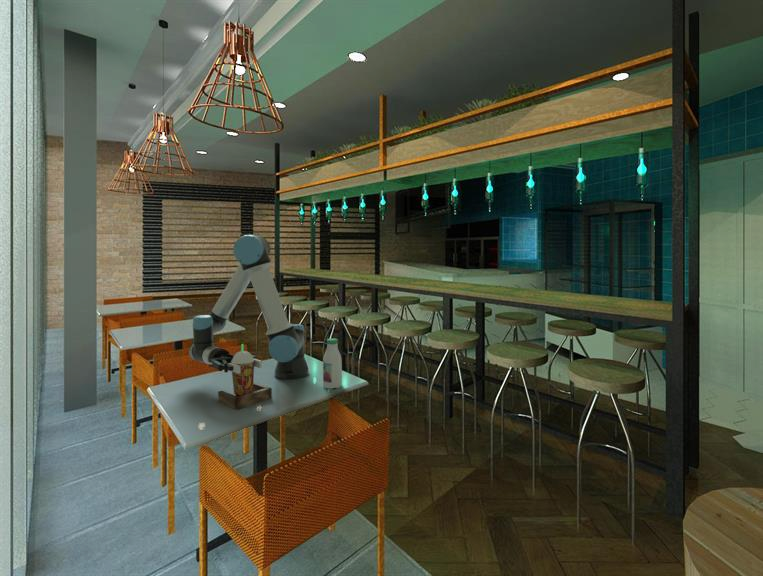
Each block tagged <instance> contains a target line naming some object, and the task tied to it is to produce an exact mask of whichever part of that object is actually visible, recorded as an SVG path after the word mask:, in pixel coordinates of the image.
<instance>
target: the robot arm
mask: <svg viewBox="0 0 763 576" xmlns="http://www.w3.org/2000/svg"><path fill="white" fill-rule="evenodd" d="M232 251H233V252H232V253H233V256H234V258H235V259H236V260H237V262H239V264H238V266H237V268H236V270H234V273H233V275H232V276H231V278H230V279H229V281H228V282H227V285H226V286H225V288H224V290H223V291H222V293H221V294H220V296H219V298H218V300H217V301H216V303H215V304H214V306H213V308H212V310H211V312H210V313H209V314H201V315H196V316H194V317H193V318H192V319H193V320H192V335H193V344H192V345H190V349H189V356H190V358H191V359H192V360H194V361H196V362H199V363H204V364H206V365H208V366H209V367H211V368H214V369H215V370H217V371H218V372H222V371H223V370H224V371H223V372H224V373H228V372H231V373H232V372H235V373H238V374H239V373H241V371H240V366H239V365H236V364H232V363H231V360H232V359H233V357H234V355H235V354H232V353H230V352H229V351H228V350H227V349H225V348H222V347H217V346H215V345H214V335H215V334H216V333H218V332H221V331H222V330H223V329H224V328H225V326H226V325H227V320H228V319H229V316H230V315H231V313H232V312H233V310H234V309H235V307H236V305H237V304H238V302H239V300H240V299H241V297H242V295H243V294H244V292H245V290H246V289H247V288H248V285H249V284H250V282H251V285H252V288H253V291H254V293H255V296H256V299H257V303H258V304H259V307H260V310H261V313H262V315H263V318H264V320H265V325H266V327H267V331H266V333H265V335H266V338H267V340H268V343H269V344H268V353H269V355H270V356H271V358H272V359H273V360H274V361H277V362H276V366H275V368H274V377H275V378H278V379H282V380H296V379H300V378H304V377H307V376H308V375H309V366H308V363H307V360H306V358H305V325H303V324H296V323H295V324H293V323H291V322H289V321H288V318H287V315H286V313H285V310H284V306H283V303H282V301H281V298H280V296H279V292H278V289H277V287H276V283H275V280H274V278H273V275H272V272H271V270H270V266H271V265H272V261H271V258H270V254H271V245H270V242H269V241H268V240H267V239H266V238H264V237H263V236H260V235H256V234H245V235H242V236H240V237H238V238H237V239H236V240H235V242H234V243H233V247H232ZM251 355H252V354H251ZM252 357H253V358H254V368H258V369H262V360H260V359H257V356H256V355H252Z"/></svg>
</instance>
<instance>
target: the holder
mask: <svg viewBox="0 0 763 576" xmlns="http://www.w3.org/2000/svg"><path fill="white" fill-rule="evenodd" d="M272 391H273V390H272V387H270V386H268V385H264V384H261V383H258V382H255V381H253V392H252V393H249V394H245V395H242V396H239V397H237V396H236V395H235V394H232V393H229V392H227V391H224V390H219V391H218V392H217V397H218V401H217V402H218V403H220V404H221V405H224V406H227V407H229V408H232V409H234V410H236V411H238V410H241V409H244V408H246V407H250V406H252V405H255V404H258V403H259V404H260V403H261V402H264V401H267V400H270V399H272V398H273V397H272Z"/></svg>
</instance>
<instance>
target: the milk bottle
mask: <svg viewBox="0 0 763 576" xmlns="http://www.w3.org/2000/svg"><path fill="white" fill-rule="evenodd" d="M326 346H327V347H326V351H325V352H324V356H323V360H322V373H323V374H322V381H323V382H322V384H323V387H324V388H325V389H329V390H334V389H333V388H336V389H340V388H341V387H342V385H343V384H342V383H343V367H342V365H343V363H342V361H343V359H342V355H341V353H340V351H339V348H338V346H339V340H338V338H335V337H333V338H327V339H326Z"/></svg>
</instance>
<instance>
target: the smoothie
mask: <svg viewBox="0 0 763 576" xmlns="http://www.w3.org/2000/svg"><path fill="white" fill-rule="evenodd" d="M233 355H234V357H233V359H232V360H231V363H232V364H236V365H239V366H240V371H241V373H239V374H238V373H235V372H232V371H231V374H232V376H231V377H232V387H233V393H234V394H233V395H235V396H237V397H239V396H242V395H245V394H249V393H252V392H253V382H254V373H255V371H254V370H255V366H254V358H253V357H252V354H251V353H250V352H249V351H247V350H244V343H242V344H241V350H239V351H237V352H236V353H235V354H233Z"/></svg>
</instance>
